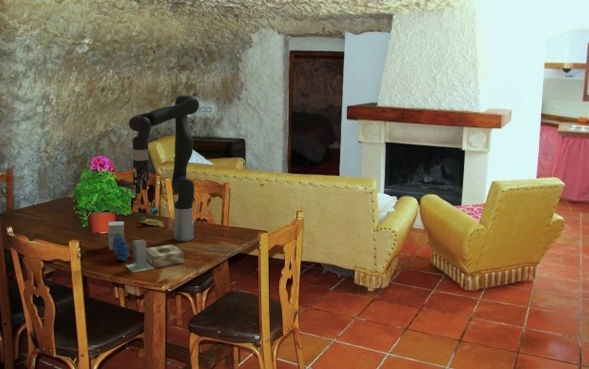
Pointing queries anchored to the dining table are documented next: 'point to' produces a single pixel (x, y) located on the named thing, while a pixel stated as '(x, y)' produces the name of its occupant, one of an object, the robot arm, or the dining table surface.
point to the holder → (164, 255)
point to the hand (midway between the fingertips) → (141, 191)
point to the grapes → (120, 247)
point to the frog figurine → (153, 212)
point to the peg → (139, 254)
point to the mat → (133, 269)
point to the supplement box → (115, 231)
